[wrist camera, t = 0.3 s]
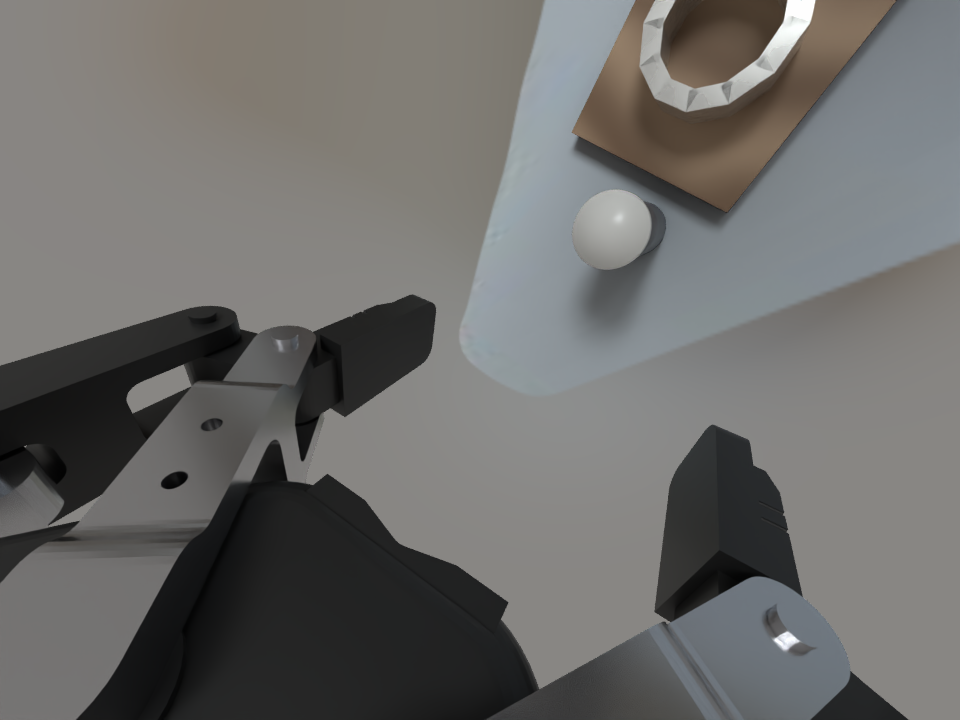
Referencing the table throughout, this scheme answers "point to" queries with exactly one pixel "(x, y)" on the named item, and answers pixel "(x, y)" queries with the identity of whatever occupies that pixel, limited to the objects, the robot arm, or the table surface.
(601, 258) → the white capped grey cylinder
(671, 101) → the faceted white ring
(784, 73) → the mount board
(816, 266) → the table surface
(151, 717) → the robot arm
